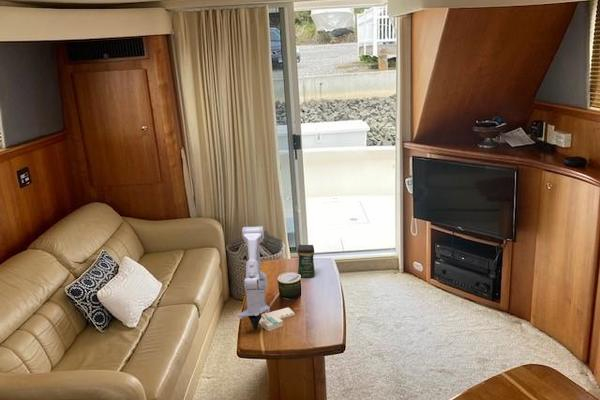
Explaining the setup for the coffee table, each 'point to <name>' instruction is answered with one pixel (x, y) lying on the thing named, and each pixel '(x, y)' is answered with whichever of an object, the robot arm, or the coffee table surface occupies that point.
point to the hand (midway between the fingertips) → (255, 328)
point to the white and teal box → (272, 323)
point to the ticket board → (278, 314)
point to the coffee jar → (306, 261)
